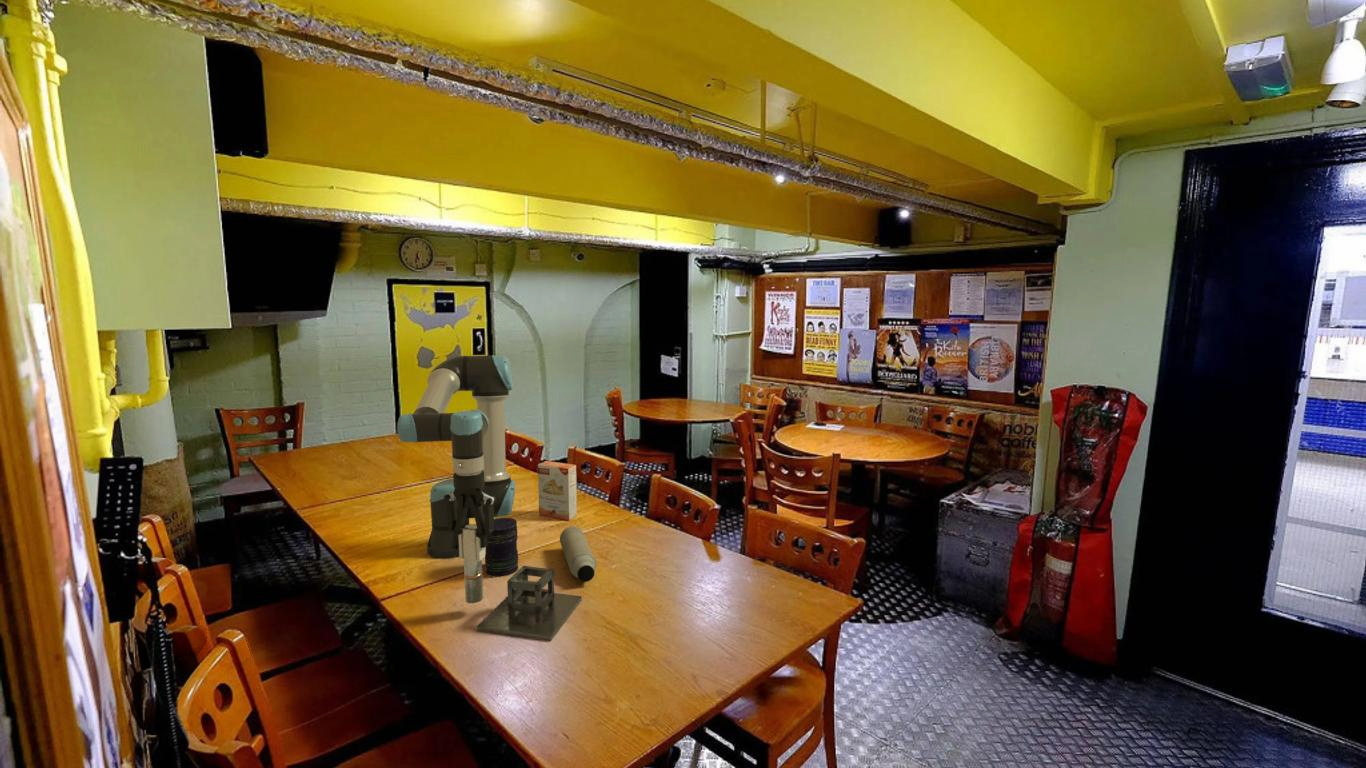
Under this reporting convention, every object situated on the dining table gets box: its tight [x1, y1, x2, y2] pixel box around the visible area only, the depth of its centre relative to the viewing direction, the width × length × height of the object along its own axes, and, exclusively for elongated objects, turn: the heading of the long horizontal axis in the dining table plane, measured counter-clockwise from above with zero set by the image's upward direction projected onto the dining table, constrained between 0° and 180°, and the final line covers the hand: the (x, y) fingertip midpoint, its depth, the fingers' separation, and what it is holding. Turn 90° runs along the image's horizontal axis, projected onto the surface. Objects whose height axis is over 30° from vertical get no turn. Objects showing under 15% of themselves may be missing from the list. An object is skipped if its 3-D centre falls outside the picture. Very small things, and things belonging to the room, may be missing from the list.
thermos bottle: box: [559, 525, 597, 583], centre depth 180 cm, size 8×8×28 cm
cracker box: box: [537, 460, 578, 522], centre depth 221 cm, size 14×6×21 cm, turn 68°
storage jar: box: [484, 517, 519, 578], centre depth 177 cm, size 10×10×15 cm
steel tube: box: [462, 523, 484, 604], centre depth 151 cm, size 5×5×20 cm
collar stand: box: [476, 565, 583, 642], centre depth 151 cm, size 20×20×11 cm
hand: (472, 557), depth 150 cm, fingers closed on steel tube, 4 cm apart
